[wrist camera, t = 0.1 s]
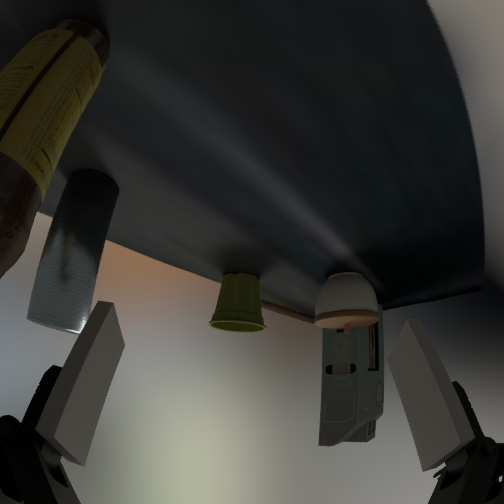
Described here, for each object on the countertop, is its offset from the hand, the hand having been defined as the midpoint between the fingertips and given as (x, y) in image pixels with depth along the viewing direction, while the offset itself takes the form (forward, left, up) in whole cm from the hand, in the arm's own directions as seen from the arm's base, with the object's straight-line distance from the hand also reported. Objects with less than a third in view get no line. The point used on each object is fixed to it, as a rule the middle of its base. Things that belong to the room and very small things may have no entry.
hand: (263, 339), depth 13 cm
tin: (+11, -17, -15) cm, 26 cm away
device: (+46, +24, -15) cm, 54 cm away
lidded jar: (+33, +17, -15) cm, 40 cm away
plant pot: (+36, -1, -15) cm, 40 cm away
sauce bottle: (-5, -13, -15) cm, 21 cm away
